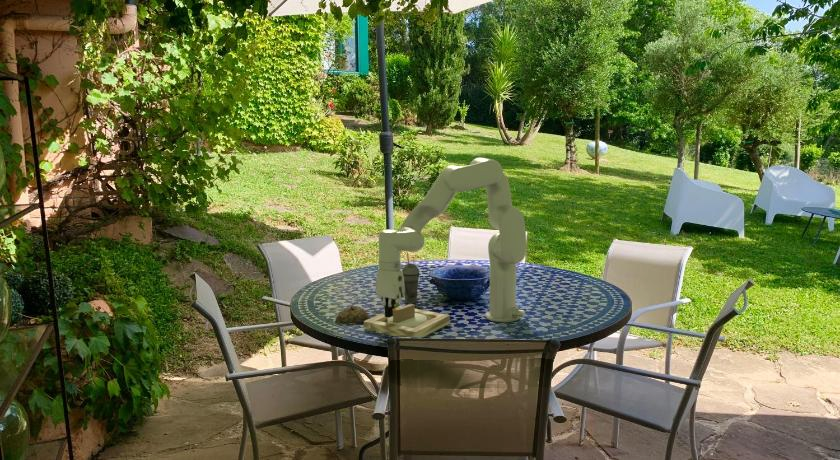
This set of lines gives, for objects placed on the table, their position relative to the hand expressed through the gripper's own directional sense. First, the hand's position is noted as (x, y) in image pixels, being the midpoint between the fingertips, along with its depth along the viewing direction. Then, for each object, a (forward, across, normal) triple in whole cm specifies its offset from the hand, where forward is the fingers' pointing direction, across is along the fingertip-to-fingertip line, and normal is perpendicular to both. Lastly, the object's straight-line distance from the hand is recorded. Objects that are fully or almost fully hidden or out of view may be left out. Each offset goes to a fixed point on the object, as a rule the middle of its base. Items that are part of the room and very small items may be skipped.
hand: (389, 316), depth 230 cm
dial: (+3, -3, -6) cm, 7 cm away
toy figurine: (+4, +14, -16) cm, 22 cm away
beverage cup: (+4, +17, -30) cm, 35 cm away
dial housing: (+4, -3, -6) cm, 8 cm away
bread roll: (+5, +18, 0) cm, 19 cm away
